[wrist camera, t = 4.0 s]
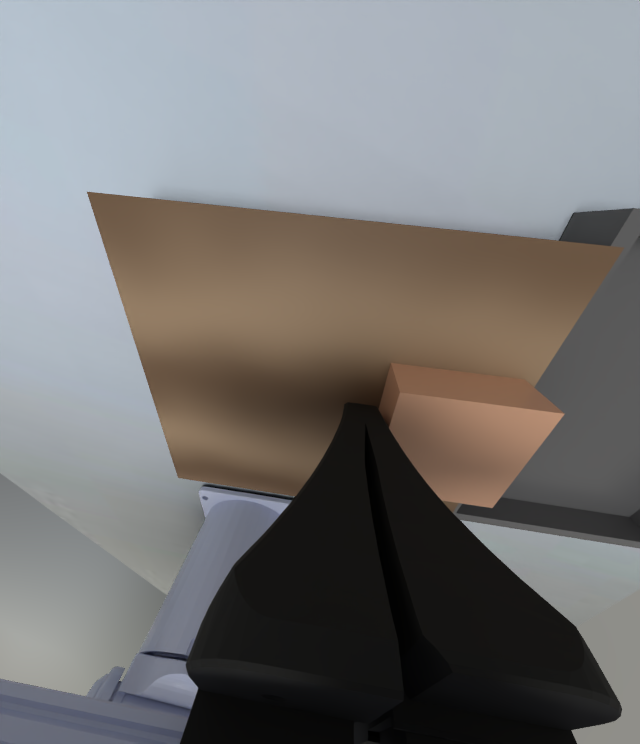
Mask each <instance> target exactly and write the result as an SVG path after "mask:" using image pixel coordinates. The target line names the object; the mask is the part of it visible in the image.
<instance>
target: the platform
mask: <svg viewBox="0 0 640 744" xmlns="http://www.w3.org/2000/svg"><path fill="white" fill-rule="evenodd" d="M87 194H88V197H89V200H90V203H91V206H92V209H93V212H94V215H95V219H96V222H97V225H98V228H99V231H100V234H101V237H102V241H103V244H104V247H105V250H106V253H107V256H108V259H109V262H110V266H111V269H112V272H113V275H114V278H115V281H116V284H117V288H118V291H119V294H120V297H121V300H122V303H123V306H124V309H125V313H126V316H127V319H128V322H129V325H130V328H131V331H132V335H133V338H134V341H135V344H136V347H137V350H138V353H139V356H140V360H141V363H142V366H143V369H144V372H145V375H146V378H147V382H148V385H149V388H150V391H151V394H152V397H153V400H154V403H155V407H156V410H157V413H158V416H159V419H160V422H161V425H162V429H163V432H164V435H165V438H166V441H167V444H168V447H169V450H170V454H171V457H172V460H173V463H174V466H175V469H176V472H177V476H178V478H183V479H189V480H196V481H202V482H208V483H214V484H221V485H227V486H233V487H240V488H246V489H252V490H258V491H265V492H271V493H277V494H284V495H290V496H296V495H297V494H298V493H299V491H300V490H301V489H302V487H303V486H304V484H305V483H306V482H307V480H308V479H309V478H310V476H311V475H312V473H313V472H314V470H315V469H316V467H317V466H318V464H319V463H320V461H321V459H322V458H323V456H324V454H325V452H326V451H327V449H328V447H329V445H330V443H331V442H332V440H333V438H334V435H335V433H336V431H337V429H338V426H339V424H340V421H341V419H342V415H343V409H344V404H345V403H347V402H350V403H358V404H365V405H373V406H377V408H378V409H379V406H380V402H381V398H382V395H383V391H384V387H385V383H386V379H387V376H388V372H389V368H390V364H391V363H397V364H405V365H413V366H421V367H429V368H437V369H445V370H453V371H461V372H469V373H477V374H485V375H493V376H501V377H509V378H517V379H525V380H526V381H527V382H528V383H529V384H531V385H532V386H533V387H535V385H536V384H537V382H538V380H539V379H540V377H541V376H542V374H543V373H544V371H545V370H546V368H547V367H548V365H549V364H550V362H551V360H552V359H553V357H554V356H555V354H556V353H557V351H558V350H559V348H560V347H561V345H562V343H563V342H564V340H565V339H566V337H567V336H568V334H569V333H570V331H571V330H572V328H573V326H574V325H575V323H576V322H577V320H578V319H579V317H580V316H581V314H582V313H583V311H584V310H585V308H586V306H587V305H588V303H589V302H590V300H591V299H592V297H593V296H594V294H595V293H596V291H597V289H598V288H599V286H600V285H601V283H602V282H603V280H604V279H605V277H606V276H607V274H608V272H609V271H610V269H611V268H612V266H613V265H614V263H615V262H616V260H617V259H618V257H619V255H620V254H621V252H622V251H623V249H624V248H623V247H614V246H604V245H595V244H585V243H575V242H566V241H556V240H546V239H537V238H527V237H517V236H508V235H498V234H488V233H479V232H469V231H460V230H450V229H440V228H431V227H421V226H411V225H402V224H392V223H382V222H373V221H363V220H353V219H344V218H334V217H325V216H315V215H305V214H296V213H286V212H276V211H267V210H257V209H247V208H238V207H228V206H219V205H209V204H199V203H190V202H180V201H170V200H161V199H151V198H141V197H132V196H122V195H112V194H103V193H93V192H87ZM442 502H443V503H444V504H445V505H446V506H447V507H448V508H449V509H450V511H451V512H452V513H453V512H454V510H455V509H456V507H457V506H458V504H459V503H455V502H448V501H442Z"/></svg>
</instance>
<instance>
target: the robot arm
mask: <svg viewBox="0 0 640 744" xmlns="http://www.w3.org/2000/svg"><path fill="white" fill-rule="evenodd" d="M199 496H200V500H201V504H202V508H203V511H204V515H205V521H204V523H203V525H202V527H201V529H200V531H199V533H198V535H197V537H196V539H195V541H194V543H193V545H192V547H191V549H190V551H189V553H188V555H187V557H186V559H185V561H184V563H183V565H182V567H181V569H180V571H179V573H178V575H177V577H176V579H175V581H174V583H173V585H172V587H171V589H170V591H169V593H168V595H167V597H166V599H165V601H164V603H163V605H162V607H161V609H160V611H159V613H158V615H157V617H156V619H155V621H154V623H153V625H152V626H151V629H150V630H149V633H148V634H147V637H146V638H145V641H144V643H143V645H142V647H141V648H140V650H139V652H138V653H137V654H136V656H135V657H134V659H133V661H132V663H131V665H130V667H129V669H128V671H127V673H126V675H125V677H124V679H123V681H122V682H121V681H119V680H120V678H121V676H122V674H123V672H124V670H125V668H122V667H118V666H116V667H114V668H112V670H111V671H110V673H109V674H106V675H104V676H103V677H101V678H100V679H99V680H97V681H96V682H95V683H94V685H93V686H92V688H91V689H90V691H89V692H88V694H87V696H81V695H76V694H72V693H67V692H62V691H57V690H52V689H47V688H42V687H38V686H33V685H28V684H23V683H18V682H13V681H9V680H4V679H0V744H577V743H576V740H575V738H574V736H573V734H572V731H571V730H574V729H579V728H584V727H590V726H595V725H601V724H605V723H609V722H612V721H615V720H617V719H618V718H619V717H620V716H621V711H622V708H621V705H620V702H619V701H618V699H617V697H616V695H615V694H614V692H613V690H612V688H611V686H610V685H609V683H608V681H607V679H606V678H605V676H604V674H603V672H602V670H601V669H600V667H599V665H598V663H597V661H596V660H595V658H594V656H593V654H592V653H591V651H590V649H589V648H588V646H587V644H586V643H585V641H584V639H583V638H582V636H581V634H580V633H579V631H578V630H577V628H576V626H574V625H573V624H572V623H571V622H570V621H569V620H568V619H566V618H565V617H564V616H563V615H562V614H561V613H559V612H558V611H557V610H556V609H555V608H554V607H552V606H551V605H550V604H549V603H548V602H547V601H546V600H544V599H543V598H542V597H541V596H540V595H539V594H537V593H536V592H535V591H534V590H533V589H532V588H530V587H529V586H528V585H527V584H526V583H525V582H524V581H522V580H521V579H520V578H519V577H518V576H517V575H516V574H515V573H513V572H512V571H511V570H510V569H509V568H508V567H507V566H506V565H505V564H504V563H503V562H502V561H501V560H500V559H498V558H497V557H496V556H495V555H494V554H493V553H492V552H491V551H490V550H489V549H488V548H487V547H486V546H485V545H484V544H483V543H482V542H481V541H480V540H479V539H478V538H477V537H476V536H475V535H474V534H473V533H472V532H471V531H470V530H469V529H468V528H467V527H466V526H465V525H464V524H463V523H462V522H461V521H460V520H459V519H458V518H457V517H456V516H455V515H454V514H453V513H452V512H451V511H450V509H449V508H448V507H447V506H446V505H445V504H444V503H443V502H442V500H441V499H440V498H439V497H438V496H437V495H436V493H435V492H434V491H433V490H432V489H431V487H430V486H429V485H428V484H427V483H426V481H425V480H424V479H423V477H422V476H421V475H420V473H419V472H418V471H417V469H416V468H415V467H414V465H413V464H412V463H411V461H410V460H409V458H408V457H407V456H406V454H405V453H404V451H403V450H402V448H401V446H400V445H399V443H398V442H397V440H396V439H395V437H394V436H393V434H392V432H391V431H390V429H389V427H388V425H387V424H386V422H385V420H384V418H383V417H382V415H381V413H380V411H379V409H378V408H377V406H373V405H365V404H358V403H350V402H347V403H345V404H344V409H343V415H342V419H341V421H340V424H339V426H338V429H337V431H336V433H335V435H334V438H333V440H332V442H331V443H330V445H329V447H328V449H327V451H326V452H325V454H324V456H323V458H322V459H321V461H320V463H319V464H318V466H317V467H316V469H315V470H314V472H313V473H312V475H311V476H310V478H309V479H308V480H307V482H306V483H305V484H304V486H303V487H302V489H301V490H300V491H299V493H298V494H297V495H296V496H295V498H294V499H293V500H287V499H281V498H275V497H269V496H262V495H256V494H250V493H244V492H237V491H231V490H225V489H218V488H212V487H206V486H204V487H201V488H200V490H199Z"/></svg>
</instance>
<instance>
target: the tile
mask: <svg viewBox="0 0 640 744" xmlns="http://www.w3.org/2000/svg"><path fill="white" fill-rule="evenodd" d="M379 411H380V413H381V415H382V417H383V418H384V420H385V422H386V424H387V425H388V427H389V429H390V431H391V432H392V434H393V436H394V437H395V439H396V440H397V442H398V443H399V445H400V446H401V448H402V450H403V451H404V453H405V454H406V456H407V457H408V458H409V460H410V461H411V463H412V464H413V465H414V467H415V468H416V469H417V471H418V472H419V473H420V475H421V476H422V477H423V479H424V480H425V481H426V483H427V484H428V485H429V486H430V487H431V489H432V490H433V491H434V492H435V493H436V495H437V496H438V497H439V498H440V499H441V500H442V501H448V502H455V503H462V504H468V505H475V506H482V507H488V508H493V507H494V505H495V504H496V503H497V501H498V500H499V499H500V498H501V496H502V495H503V494H504V492H505V491H506V490H507V488H508V487H509V486H510V485H511V483H512V482H513V481H514V479H515V478H516V477H517V475H518V474H519V473H520V472H521V470H522V469H523V468H524V466H525V465H526V464H527V462H528V461H529V460H530V459H531V457H532V456H533V455H534V453H535V452H536V451H537V449H538V448H539V447H540V446H541V444H542V443H543V442H544V440H545V439H546V438H547V436H548V435H549V434H550V433H551V431H552V430H553V429H554V427H555V426H556V425H557V423H558V422H559V421H560V420H561V418H562V417H563V416H564V413H563V412H562V411H561V410H560V409H559V408H557V407H556V406H555V405H554V404H553V403H552V402H550V401H549V400H548V399H547V398H546V397H545V396H543V395H542V394H541V393H540V392H539V391H538V390H536V389H535V388H534V387H533V386H532V385H531V384H529V383H528V382H527V381H526V380H525V379H517V378H509V377H501V376H493V375H485V374H477V373H469V372H461V371H453V370H445V369H437V368H429V367H421V366H413V365H405V364H397V363H391V364H390V368H389V372H388V376H387V379H386V383H385V387H384V391H383V395H382V398H381V402H380V406H379Z"/></svg>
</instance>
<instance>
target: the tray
mask: <svg viewBox="0 0 640 744" xmlns="http://www.w3.org/2000/svg"><path fill="white" fill-rule="evenodd" d="M560 241H566V242H575V243H585V244H595V245H604V246H614V247H623V248H624V249H623V251H622V252H621V254H620V255H619V257H618V259H617V260H616V262H615V263H614V265H613V266H612V268H611V269H610V271H609V272H608V274H607V276H606V277H605V279H604V280H603V282H602V283H601V285H600V286H599V288H598V289H597V291H596V293H595V294H594V296H593V297H592V299H591V300H590V302H589V303H588V305H587V306H586V308H585V310H584V311H583V313H582V314H581V316H580V317H579V319H578V320H577V322H576V323H575V325H574V326H573V328H572V330H571V331H570V333H569V334H568V336H567V337H566V339H565V340H564V342H563V343H562V345H561V347H560V348H559V350H558V351H557V353H556V354H555V356H554V357H553V359H552V360H551V362H550V364H549V365H548V367H547V368H546V370H545V371H544V373H543V374H542V376H541V377H540V379H539V380H538V382H537V384H536V385H535V387H534V388H535V389H536V390H538V391H539V392H540V393H541V394H542V395H543V396H545V397H546V398H547V399H548V400H549V401H550V402H552V403H553V404H554V405H555V406H556V407H557V408H559V409H560V410H561V411H562V412H563V413H564V416H563V417H562V418H561V420H560V421H559V422H558V423H557V425H556V426H555V427H554V429H553V430H552V431H551V433H550V434H549V435H548V436H547V438H546V439H545V440H544V442H543V443H542V444H541V446H540V447H539V448H538V449H537V451H536V452H535V453H534V455H533V456H532V457H531V459H530V460H529V461H528V462H527V464H526V465H525V466H524V468H523V469H522V470H521V472H520V473H519V474H518V475H517V477H516V478H515V479H514V481H513V482H512V483H511V485H510V486H509V487H508V488H507V490H506V491H505V492H504V494H503V495H502V496H501V498H500V499H499V500H498V501H497V503H496V504H495V505H494V507H493V508H488V507H482V506H475V505H468V504H462V503H459V504H458V506H457V507H456V509H455V510H454V512H453V514H454V515H455V516H456V517H457V518H458V519H459V520H464V521H471V522H477V523H483V524H490V525H496V526H502V527H509V528H515V529H521V530H528V531H534V532H540V533H546V534H553V535H559V536H565V537H572V538H578V539H584V540H591V541H597V542H603V543H610V544H616V545H622V546H629V547H635V548H640V209H636V208H632V209H619V210H605V211H592V212H579V213H574V214H573V216H572V218H571V220H570V222H569V224H568V225H567V227H566V229H565V231H564V233H563V235H562V237H561V239H560Z"/></svg>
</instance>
